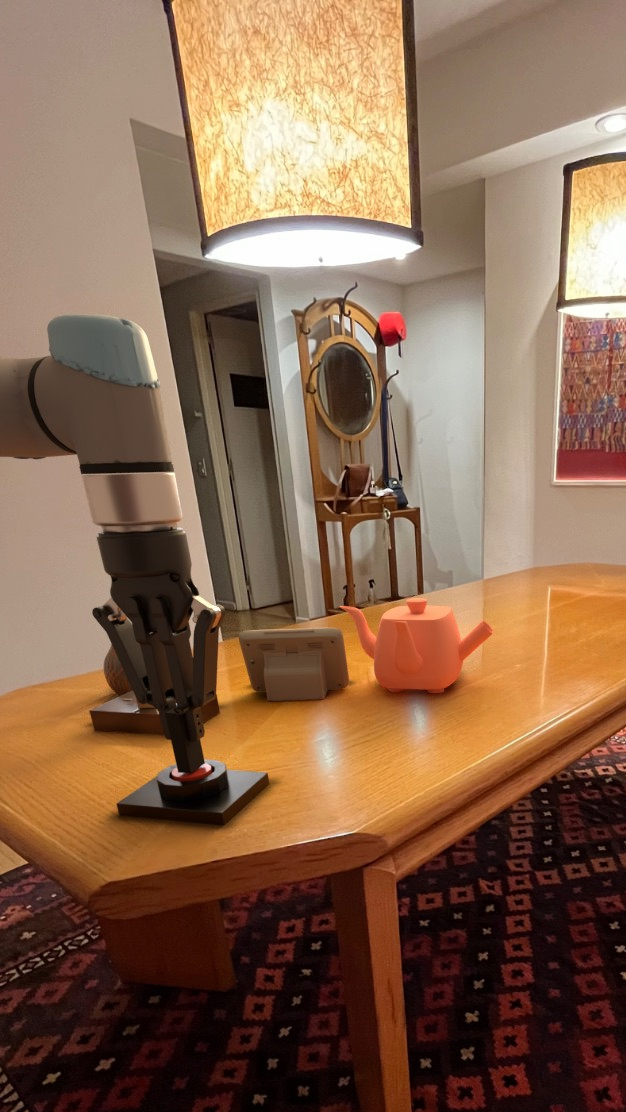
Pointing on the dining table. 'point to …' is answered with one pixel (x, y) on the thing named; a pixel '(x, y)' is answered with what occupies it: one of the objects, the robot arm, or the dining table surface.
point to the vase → (115, 673)
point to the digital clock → (295, 662)
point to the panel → (136, 715)
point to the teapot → (417, 645)
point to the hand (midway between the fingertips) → (191, 767)
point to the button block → (195, 796)
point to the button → (197, 774)
